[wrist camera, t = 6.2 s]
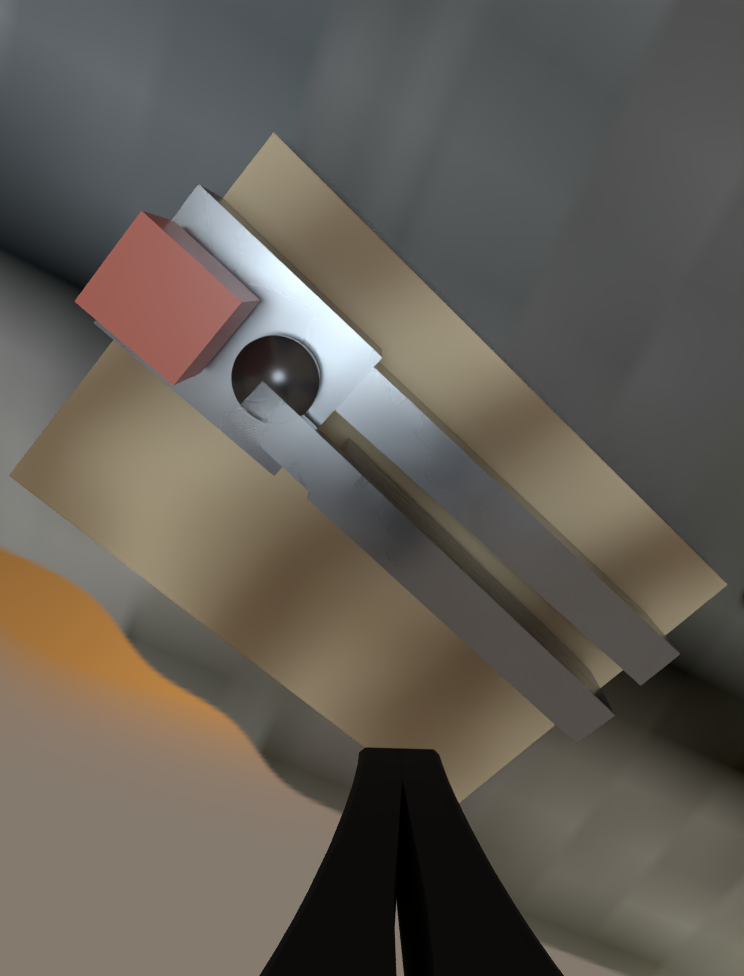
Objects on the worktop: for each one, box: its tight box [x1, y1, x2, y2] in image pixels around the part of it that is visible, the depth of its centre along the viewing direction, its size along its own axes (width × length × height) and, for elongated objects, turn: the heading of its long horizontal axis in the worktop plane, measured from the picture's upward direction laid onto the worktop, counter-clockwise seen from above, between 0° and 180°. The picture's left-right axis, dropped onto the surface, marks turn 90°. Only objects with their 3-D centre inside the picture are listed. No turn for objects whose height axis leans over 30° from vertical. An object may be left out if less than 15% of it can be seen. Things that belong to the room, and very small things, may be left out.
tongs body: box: [94, 184, 680, 686], centre depth 17 cm, size 17×4×2 cm, turn 47°
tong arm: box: [229, 335, 615, 744], centre depth 17 cm, size 14×3×3 cm, turn 45°
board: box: [9, 133, 727, 803], centre depth 19 cm, size 18×12×1 cm, turn 47°
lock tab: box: [75, 211, 261, 386], centre depth 13 cm, size 2×2×2 cm
